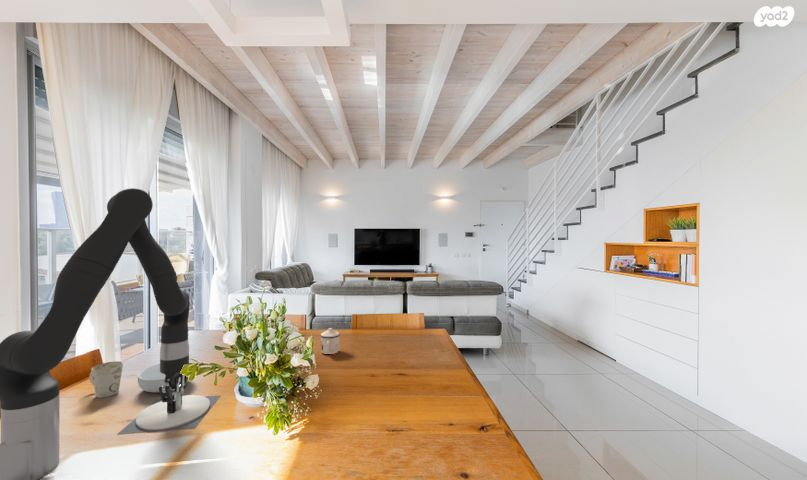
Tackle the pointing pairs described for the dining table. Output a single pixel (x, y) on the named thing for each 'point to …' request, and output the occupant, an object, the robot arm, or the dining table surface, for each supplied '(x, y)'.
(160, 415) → the lid
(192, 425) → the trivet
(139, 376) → the cereal bowl
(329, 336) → the teacup with lid
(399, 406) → the dining table surface
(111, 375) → the mug
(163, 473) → the dining table surface
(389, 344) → the dining table surface
